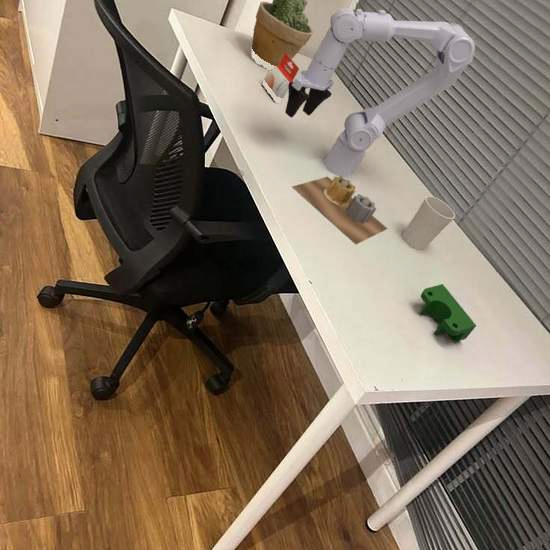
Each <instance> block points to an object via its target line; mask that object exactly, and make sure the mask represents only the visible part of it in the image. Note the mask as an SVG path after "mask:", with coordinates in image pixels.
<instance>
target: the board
mask: <svg viewBox="0 0 550 550" xmlns="http://www.w3.org/2000/svg"><path fill="white" fill-rule="evenodd" d="M346 180H347V179H346ZM346 180H342V182H341V183H340V184H341V185H342V186H343V187H345V188H346V187H347V185H348V184H349V183H348V182H347V181H346ZM332 181H333V179H331V178H330V177H328V176H324V177H322V178H318V179H313V180H310V181H307V182H304V183H301V184H296V185H293V186H291V188H292V189H293V190H295V191H296V193H298V194H299V195H300V196H301V197H302V199H303V200H305V201H306V202H308V203H309V204H310V205H311V206H312V207H313V208H314V209H316V211H318V212H319V213H320V214H321V215H322V216H323V217H324V218H325V219H326V220H327V221H329V222H330V223H331V224H332V225H333V226H334V227H336V229H338V230H339V231H340V232H341V233H342V234H343V235H344V236H345V237H347V238H348V239H349V240H350V241H351V242H352V243H353V244H355V245H358V244H360V243H362V242H364V241H366V240H368V239H370V238H372V237H375V236H376V235H378V234H380V233H382V232H384V231H386V230H388V227H387V226H385V224H383V223H382V222H381V221H379V220H378V219H377V218H376V217H375V216H374V214H373V215H372V216H371V217H370V219H369V220H368V222H365V223H364V224H362V223H360V222H358V221H354V219H352V218H351V217H350V216H348V215H347V213H348V212H347V210H346V208H347V207H348V205H349V204H350V202H351V201H352V199H353V198H354V197H353V196H352V197H351V199H350V200H349V202H348V203H347V204H346V205H345V204H342V205H339V204H338V203H336V202H333V201H332V200H331V198H330V197H329V196H327V195H326V193H327V191H326V190H327V189H328V187H329V185H330V184H331V182H332ZM369 200H370V199H369ZM369 200H368V199H367V198H364V199H363V201H362V202H361V203H362V204H363V205H365V206H368V204H369V203H370V201H369Z"/></svg>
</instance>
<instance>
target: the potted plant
mask: <svg viewBox="0 0 550 550" xmlns="http://www.w3.org/2000/svg"><path fill="white" fill-rule="evenodd" d="M307 5H308V0H272V2H269V1H268V2H267V1H261V2H260V4H259V5H258V10H257V12H256V14H255V20H256V21H255V23H254V27H253V36H252V43H251V47H252V49H253V51H254V52H255V54H257V55H258V56H259V57H260V58H261V59H263V60H264V61H266V62H268V63H270V64H271V65H274V66H278V65H279V64H280V63H281V61H282V58H283V56H284V54H285V53H286V54H287V55H288V56H289V58H290V59H291V60H292V61H293V59H294V57H296V55H297V54H298V53H299V52H300V51H301V49H302V48H303V46H305V45H306V44H307V43H308V41H309V40H310V38H312V35H313V34H314V30H313V29H312V27H311V26H310V25H309V22H310V20H309V19H308V17H307V14H305V13H304V11H305V8H306V6H307ZM289 63H290V62H289V61H287V64H288V65H289Z"/></svg>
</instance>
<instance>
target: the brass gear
mask: <svg viewBox="0 0 550 550" xmlns="http://www.w3.org/2000/svg"><path fill="white" fill-rule="evenodd" d="M342 180H346V181H347V182H348V183H349V184H348V185H347V187H346V188H345V187H343V186H342V185H341V184H340V183H341V182H342ZM355 189H356V186H355V185H353V184H352V182H351V181H350V180H349V179H346V178H345V177H341V176H338V177H337V176H334V177H333V179H332V182H331V184H330V185H329V187H328V189H327V190H326V191H327V193H326V195H327V196H329V197H330V198H331V200H332V201H333V202H336V203H338V204H339V205H342V204H345V205H346V204H347V203H348V202H349V200H350V199H351V197H352V198H353V197H354V196H353V195H354V194H355V192H356V190H355Z"/></svg>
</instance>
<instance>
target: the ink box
mask: <svg viewBox="0 0 550 550" xmlns="http://www.w3.org/2000/svg"><path fill="white" fill-rule="evenodd" d="M287 61H289V63H291V66H292V67H291V66H290V65H289V63H288V64H287ZM299 70H300V68H299V67H298V66H297V64H296V63H295V62H294V61H293V59H292V60H291V59H290V58H289V56H288V55H287V54H286V53H285V54H284V56H283V58H282V61H281V63H280V64H279V65H278V66H276V67H274V68H273V69H271V70H270V71H269V70H268V71H267V74H266V75H265V77H264V80H265V82H266V83H267V84H268V86H269V87H270V88H271V89H272V91H273V92H274V93H275V95H276V96H277V97H280V98H283V99H284V98H285V96H286V94H287V93H288V92H289V88H288V85H289V83H290V82H294V80H295V78H296V76H297V74H298V72H299ZM264 80H263V81H264Z"/></svg>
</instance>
